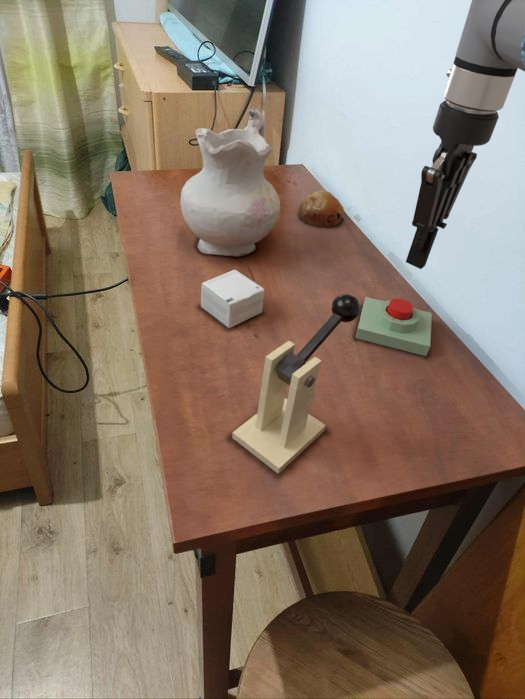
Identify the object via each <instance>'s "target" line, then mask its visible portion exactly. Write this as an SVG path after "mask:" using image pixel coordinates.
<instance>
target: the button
mask: <svg viewBox="0 0 525 699" xmlns="http://www.w3.org/2000/svg"><path fill="white" fill-rule="evenodd" d="M413 307H414V306H413V304H412V303H411V302H409V301H408V300H406V299H403V298H393V299H391V301H390V303H389V306H388V309H387V313H388V315H389V316H391V317H393V318H394V319H398V320H408V319H409V318H410V316H411V314H412V311H413Z"/></svg>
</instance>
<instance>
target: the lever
mask: <svg viewBox="0 0 525 699" xmlns="http://www.w3.org/2000/svg"><path fill="white" fill-rule="evenodd" d="M331 313H332V315H331V316H330V317H329V318H328V319H327V320H326V322H325V323H324V324H323V325H322V326H321V327H320V328H319V329H318V331H317V332H316V333H315V334H314V336H312V338H310V339H309V341H308V342H307V343H306V344H305V345H304V346H303V347H302V349H301V350H300V351H299V352H298V353H297V354H295V353H292V352H290V353H289V354H288V356H287V357H286V358H285V359H284V360H283V361H282V362H281V363H280V365H279V366H278V367H277V368H276V370H277V374H278V378H279V379H281V380H282V381H284V382H285V383H287V386H290V383H291V378H292V374H293V373H294V372H295V371H297V370H298V369H299V368H301V367H302V366H303V365H305V364H306V363H307V362H308V361H309V359H310V358H311V357H312V356H313V354H314V353H315V352H316V351H317V350H318V349H319V348H320V346H321V345H322V344H323V343H324V342H325V341H326V340H327V338H329V336H330V335H331V334H332V333H333V332H334V331H335V330H336V328H337V327H338V326H339V325H340V323H350V322H353V321H355V320H356V319H357V318H358V317H359V315H360V313H361V303H360V301H359V299H358V298H357V297H356V296H355V295H353V294H350V293H342V294H339V295H338V296H336V297H335V298H334V299H333V301H332V304H331Z"/></svg>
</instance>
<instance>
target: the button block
mask: <svg viewBox="0 0 525 699" xmlns="http://www.w3.org/2000/svg"><path fill="white" fill-rule="evenodd" d="M391 300H392V299H391ZM391 300H390V299H389V300H385V301H384V300H380V299H376V298H372V297H368V296H365V297H364V301H363V303H362V304H363V305H362V307H361V311H360V313H361V314H360V316H359V322H358V326H357V329H356V334H355V339H358V340H362V341H365V342H369V343H374V344H377V345H380V346H384V347H385V346H386V347H388V348H393V349H397V350H400V351H404V352H408V353H412V354H416V355H420V356H424V357H427V356H428V354H429V352H430V349H431V340H432V321H433V320H432V319H433V318H432V317H433V316H432V315H433V313H432V312H429V311H425V310H421V309H418V308H416V307H415V306H413V311H412V314H411V316H410V318H409V319H408V320H398V319H394V318H393V317H391V316H389V315H388V313H387V309H388V306H389V303H390V301H391Z"/></svg>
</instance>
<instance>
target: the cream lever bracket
mask: <svg viewBox="0 0 525 699" xmlns="http://www.w3.org/2000/svg"><path fill="white" fill-rule="evenodd" d="M295 346H296V344H295V343H294V342H293V341H291V340H288V341H286V342H284V343H283V344H281V345H280V346H278V347H277V348H276V349H274V350H273V351H271V352H270V353H268V354H267V355H265V357H264V365H263V372H262V378H261V386H260V391H259V392H260V394H259V399H258V406H257V412H256V413H255V414H254V415H253V416H251V417H250V418H249V419H247V420H246V421H245V422H243V424H242V425H240V426H239V427H238V428H236V429H235V430H234V431H232V439H233V440H234V441H235V442H237V444H239V445H240V446H241V447H243V448H244V449H246V451H248V452H249V453H251V455H253V456H254V457H256V458H257V459H258V460H260V461H261V462H263V463H264V465H266V466H267V467H269V468H270V469H271V470H272V471H274V472H275V473H276V474H280V473H281V472H282V471H283V470H285V469H286V468H287V466H288V465H290V464H291V463H292V462H293V461H294V460H295V459H296V458H297V457H298V456H300V455H301V453H303V451H305V449H307V448H308V447H309V446H310V445H311V444H312V443H313V442H314V441H316V439H318V437H320V436H321V435H322V434H323V433H324V432H325V431H326V430H325V429H326V424H325V423H324V422H322V421H320V420H319V419H317V418H315V417H314V416H313V415H311V414H310V409H311V406H312V401H313V397H314V394H315V390H316V385H317V382H318V378H319V373H320V369H321V365H322V360H321V359H320V358H318V357H316V356H313V358H311V359H310V360H308V361H306V362H305V363H306V364H305V365H303V366H302V367H301V368H299V369H298V370H297V371H295V372H294V373H293V374H292V378H291V383H290V385H289V389H288V384H287V383H285V382H284V381H282V380H281V379H279V378H278V374H277V370H276V368H277V367H278V366H279V365H280V363H281V362H282V361H283V360H284V359H285V358H286V357H287V356H288V354H289V353H290V352H292V353H293V354H295V353H294V352H295V348H296V347H295ZM287 389H288V394H287ZM286 394H287V398H286Z"/></svg>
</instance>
